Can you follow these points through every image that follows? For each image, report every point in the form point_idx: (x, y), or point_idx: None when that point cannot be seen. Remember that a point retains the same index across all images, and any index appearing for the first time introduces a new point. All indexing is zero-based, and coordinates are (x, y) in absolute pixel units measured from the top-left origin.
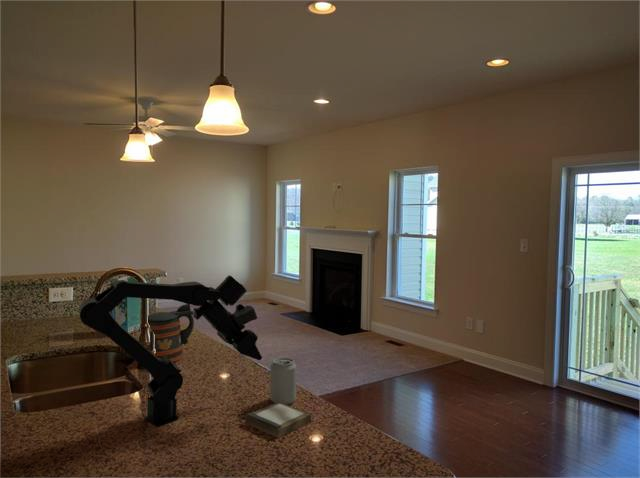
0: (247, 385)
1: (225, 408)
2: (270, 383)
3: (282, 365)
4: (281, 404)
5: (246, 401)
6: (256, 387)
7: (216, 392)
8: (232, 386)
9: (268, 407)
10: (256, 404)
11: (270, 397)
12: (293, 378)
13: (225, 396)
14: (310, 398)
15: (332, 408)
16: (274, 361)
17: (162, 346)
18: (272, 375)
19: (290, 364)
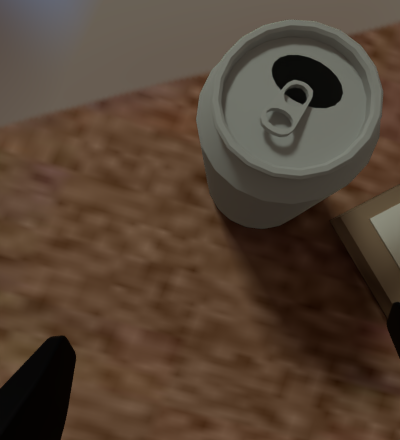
0: (47, 270)
1: (253, 421)
2: (256, 218)
3: (370, 129)
4: (370, 211)
5: (212, 318)
6: (83, 240)
7: (71, 417)
8: (32, 334)
9: (385, 272)
10: (256, 288)
11: (254, 227)
12: (335, 102)
13: (129, 390)
14: None
15: (385, 34)
16: (256, 160)
17: None
18: (300, 208)
19: (366, 68)
